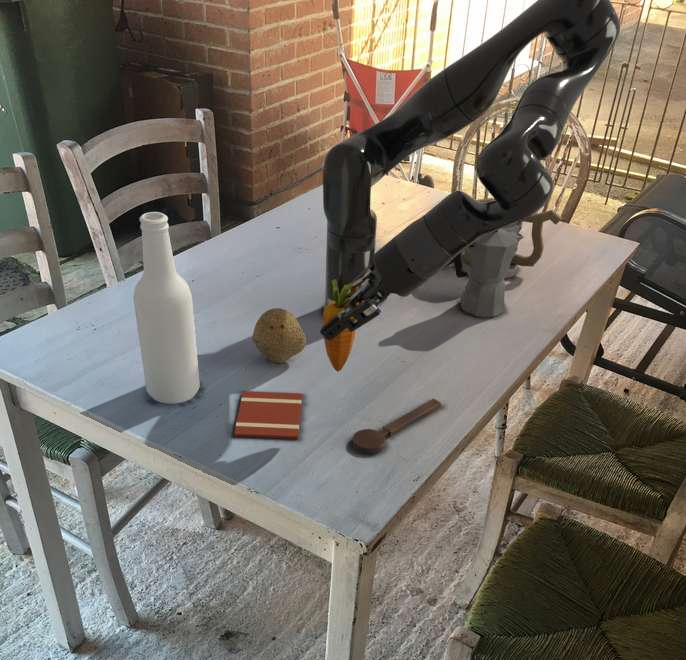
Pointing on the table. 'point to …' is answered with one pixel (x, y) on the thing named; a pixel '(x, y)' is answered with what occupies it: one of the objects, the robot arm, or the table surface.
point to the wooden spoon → (390, 429)
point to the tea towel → (269, 415)
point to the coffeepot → (487, 273)
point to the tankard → (517, 259)
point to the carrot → (342, 342)
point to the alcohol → (165, 318)
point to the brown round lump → (278, 335)
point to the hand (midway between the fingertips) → (327, 326)
